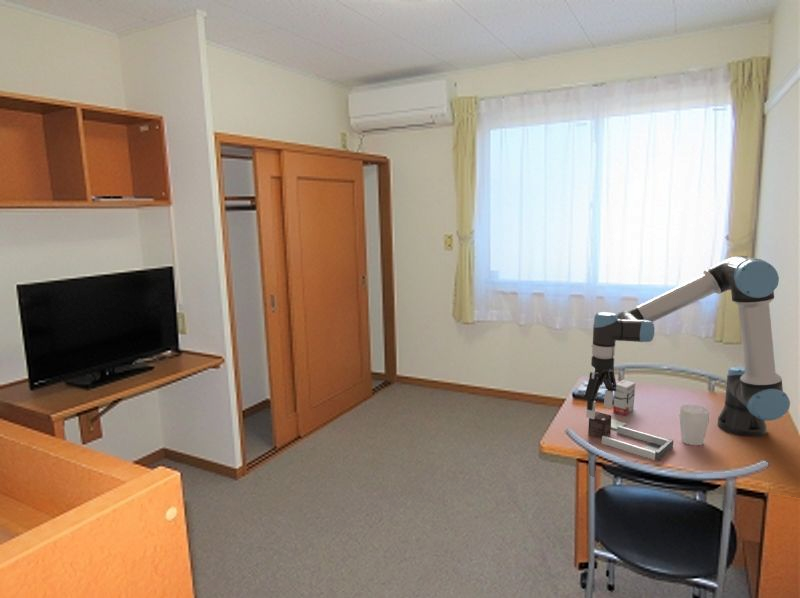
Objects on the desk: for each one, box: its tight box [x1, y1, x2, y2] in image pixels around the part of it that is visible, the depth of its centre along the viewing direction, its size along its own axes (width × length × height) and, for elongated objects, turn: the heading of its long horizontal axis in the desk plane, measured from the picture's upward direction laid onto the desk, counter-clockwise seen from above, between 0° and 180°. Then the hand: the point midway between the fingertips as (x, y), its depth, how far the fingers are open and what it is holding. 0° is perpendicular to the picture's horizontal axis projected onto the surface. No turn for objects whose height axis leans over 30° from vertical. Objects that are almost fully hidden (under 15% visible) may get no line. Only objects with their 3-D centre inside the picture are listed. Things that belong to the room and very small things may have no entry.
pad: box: [611, 418, 627, 431], centre depth 201 cm, size 7×7×1 cm
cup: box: [678, 404, 710, 446], centre depth 184 cm, size 9×9×12 cm
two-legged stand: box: [601, 425, 674, 461], centre depth 183 cm, size 19×13×3 cm
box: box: [587, 411, 612, 440], centre depth 192 cm, size 6×6×7 cm
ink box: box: [612, 379, 636, 416], centre depth 213 cm, size 8×5×12 cm, turn 134°
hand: (599, 412), depth 192 cm, fingers open, 13 cm apart
